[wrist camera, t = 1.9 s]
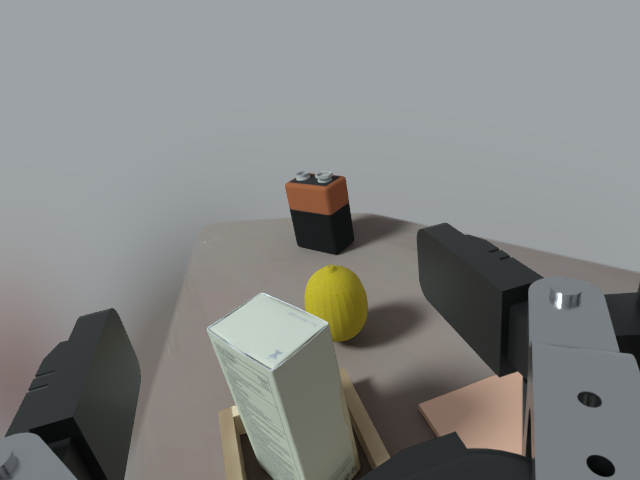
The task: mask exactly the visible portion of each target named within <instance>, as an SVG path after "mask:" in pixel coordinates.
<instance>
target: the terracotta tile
mask: <svg viewBox="0 0 640 480" xmlns="http://www.w3.org/2000/svg"><path fill="white" fill-rule="evenodd" d="M522 379H523V376H522V375H521V374H520V373H519V372H515V373H512V374H509V375H506V376H503V377H500V378H499V377H498V376H497V375H494V376H491V377H489V378H486V379H483V380H481V381H478V382H475V383H473V384H470V385H468V386H465V387H462V388H460V389H457V390H454V391H452V392H449V393H447V394H444V395H441V396H439V397H436V398H433V399H431V400H428V401H426V402H423V403H420V404H419V411H420V412H421V414H422V415H423V417H424V418H425V420H426V421H427V423H428V424H429V426H430V427H431V429H432V430H433V432H434V433H435V435H436V436H437V438H438V437H440V436H443V435H446V434H449V433H452V432H455V431H456V433H457V434H458V436H459V437H460V439H461V440H462V442H463V443H464V444H465V446H466V447H467V449H469V448H488V449H496V450H503V451H507V452H512V453H516V454H519V455H522Z"/></svg>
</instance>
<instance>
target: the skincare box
mask: <svg viewBox="0 0 640 480" xmlns="http://www.w3.org/2000/svg"><path fill="white" fill-rule="evenodd" d="M207 332H208V334H209V337H210V339H211V342H212V344H213V347H214V350H215V352H216V355H217V357H218V360H219V362H220V365H221V368H222V370H223V373H224V375H225V378H226V380H227V383H228V386H229V388H230V391H231V394H232V396H233V399H234V401H235V404H236V406H237V409H238V412H239V414H240V417H241V419H242V422H243V425H244V427H245V430H246V432H247V435H248V437H249V440H250V443H251V445H252V448H253V450H254V453H255V455H256V458H257V461H258V463H259V465H260V466H261V467H262V468H263V469H264V470H265V471H266V472H267V473H268V474H269V475H270V476H271V477H272V478H273V479H274V480H352V479H353V477H354V476H355V475H356V474H357V472H358V471H359V470H360V468H361V465H360V462H359V457H358V452H357V448H356V444H355V439H354V435H353V430H352V426H351V421H350V417H349V412H348V408H347V403H346V399H345V395H344V390H343V386H342V382H341V377H340V373H339V368H338V364H337V359H336V355H335V350H334V346H333V341H332V336H331V332H330V327H329V323H328V322H326V321H324V320H322V319H320V318H318V317H316V316H314V315H312V314H310V313H308V312H306V311H303V310H301V309H299V308H297V307H295V306H292V305H290V304H288V303H286V302H283V301H281V300H279V299H276V298H274V297H272V296H270V295H267V294H265V293H260V294H258V295H256V296H255V297H253V298H252V299H250V300H249V301H247V302H246V303H244V304H242V305H241V306H239V307H238V308H236V309H235V310H233V311H232V312H230V313H229V314H227V315H226V316H224V317H223V318H221V319H220V320H218V321H216V322H215V323H213V324H212V325H210V326H209V327H208V328H207Z"/></svg>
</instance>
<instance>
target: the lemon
mask: <svg viewBox="0 0 640 480" xmlns="http://www.w3.org/2000/svg"><path fill="white" fill-rule="evenodd" d="M305 311H306V312H308V313H310V314H312V315H314V316H316V317H318V318H320V319H322V320H324V321H326V322H328V323H329V327H330V332H331V336H332V341H333V342H342V341H346V340H349V339H351V338H353V337H354V336H356V335H357V334H358V333H359V332H360V331H361V329H362V328H363V326H364V324H365V322H366V319H367V314H368V302H367V296H366V292H365V290H364V287H363V285H362V283H361V281H360V279H359V278H358V277H357V275H356V274H355V273H353V272H352V271H351V270H349V269H347V268H345V267H342V266H338V265H327V266H326V267H323V268H321V269H320V270H318V271H317V272H315V273H314V274H313V276H312V277H311V278H310V279H309V281H308V284H307V286H306V290H305Z"/></svg>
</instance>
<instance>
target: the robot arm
mask: <svg viewBox="0 0 640 480" xmlns="http://www.w3.org/2000/svg"><path fill="white" fill-rule="evenodd" d="M417 250H418V267H419V281H420V285H421V289H422V291H423V294H424V296H425V297H426V299H427V300H428V301H429V302H430V304H431V305H432V306H433V307H434V308H435V309H436V310H437V311H438V312H439V313H440V314H441V315H442V316H443V318H444V319H445V320H446V321H447V322H448V323H449V324H450V325H451V326H452V327H453V328H454V329H455V331H456V332H457V333H458V334H459V335H460V336H461V337H462V338H463V339H464V340H465V341H466V342H467V343H468V345H469V346H470V347H471V348H472V349H473V350H474V351H475V352H476V353H477V354H478V355H479V356H480V357H481V359H482V360H483V361H484V362H485V363H486V364H487V365H488V366H489V367H490V368H491V369H492V370H493V371H494V373H495V374H496V375H497V376H498V377H499V378H500V377H503V376H506V375H509V374H512V373H515V372H519V373H520V374H521V375H522V376H523V379H522V455H519V454H516V453H512V452H507V451H503V450H496V449H488V448H469V449H467V447H466V446H465V444H464V443H463V442H462V440H461V439H460V437H459V436H458V434H457V433H456V431H455V432H452V433H449V434H446V435H443V436H440V437H438V438H435V439H432V440H429V441H426V442H423V443H420V444H418V445H415V446H412V447H409V448H406V449H403V450H402V451H400V452H399V453H397V454H396V455H394V456H393V457H391V458H390V459H388V460H387V461H385V462H384V463H382V464H381V465H379V466H378V467H376V468H375V469H373V470H372V471H370V472H369V473H367V474H366V475H364V476H363V477H361V478H360V479H358V480H640V283H639V288H638V292H636V293H622V294H608V295H604V294H603V293H602V292H601V291H600V290H599V289H598V288H597V287H595V286H594V285H592V284H590V283H588V282H585V281H582V280H579V279H575V278H569V277H548V278H543V277H542V276H540V275H539V274H537V273H536V272H534V271H533V270H531V269H530V268H528V267H527V266H525V265H523V264H522V263H520V262H519V261H517V260H516V259H514V258H513V257H512V258H510V255H508V254H507V253H505V252H503V251H502V250H500V251H499V248H497V247H496V246H494V245H493V244H491V243H490V242H488V241H487V240H484V239H481V238H477V237H474V236H471V235H464V234H462V233H461V232H459V231H458V230H457V229H455V228H453V227H452V226H451V225H449V224H448V223H442V224H438V225H434V226H430V227H426V228H422V229H420V230H419V231H418V233H417ZM35 376H36V379H33V381H32V383H31V385H30V387H29V393H26V396H25V397H24V400H23V401H22V404H21V405H20V408H19V410H18V412H17V413H16V415H15V417H14V419H13V422H12V424H11V426H10V427H9V429H8V431H7V433H6V435H5V437H4V438H3V439H0V480H124V477H125V471H126V465H127V459H128V453H129V448H130V442H131V436H132V430H133V424H134V418H135V412H136V407H137V400H138V395H139V389H140V383H141V374H140V367H139V363H138V359H137V356H136V354H135V352H134V349H133V347H132V345H131V342H130V340H129V338H128V335H127V334H126V331H125V328H124V326H123V324H122V321H121V319H120V317H119V315H118V313H117V312H116V310H115V309H113V308H111V309H107V310H103V311H99V312H95V313H92V314H88V315H84V316H80V317H79V318H78V320H77V322H76V324H75V326H74V329H73V331H72V333H71V335H70V338H69V340H68V341H64V342H60V343H59V344H58V345H57V346H56V347H55V348H54V349H53V350H52V351H51V352H50V353H49V354H48V356H46V357H45V358H44V359H43V361H42V363H41V365H40V367H39V369H38V371H37V373H36V375H35Z"/></svg>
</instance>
